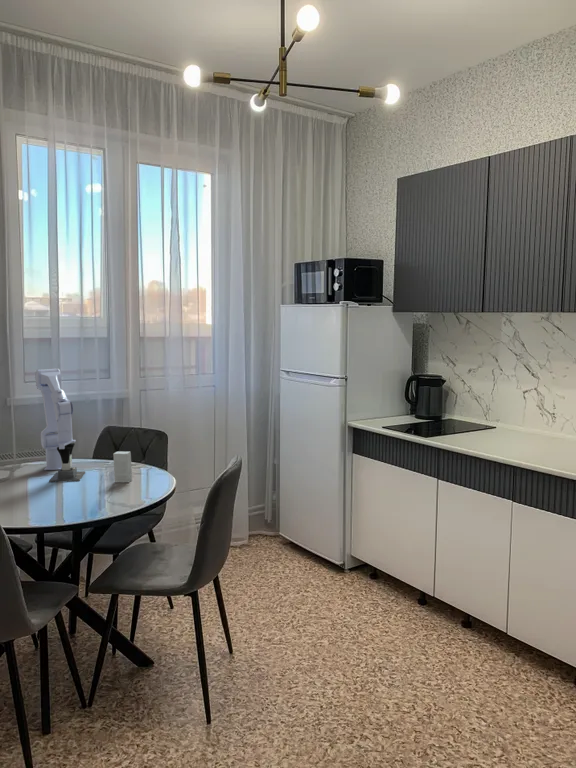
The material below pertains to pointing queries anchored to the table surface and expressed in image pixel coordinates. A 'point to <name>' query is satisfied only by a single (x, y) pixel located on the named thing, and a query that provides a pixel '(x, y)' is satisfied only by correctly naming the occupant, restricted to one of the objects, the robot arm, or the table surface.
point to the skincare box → (122, 466)
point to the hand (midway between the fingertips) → (66, 462)
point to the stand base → (67, 475)
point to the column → (67, 466)
